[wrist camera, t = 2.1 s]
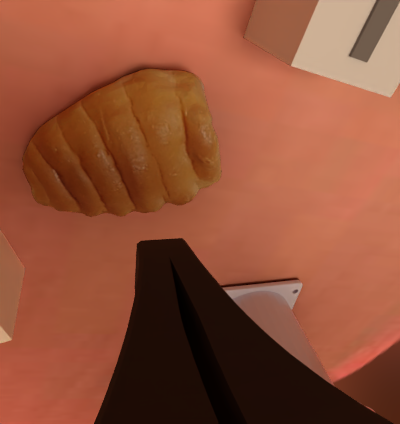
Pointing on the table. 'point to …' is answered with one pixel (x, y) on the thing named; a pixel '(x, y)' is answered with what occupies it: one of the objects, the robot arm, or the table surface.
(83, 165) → the pastry
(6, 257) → the marked block cream
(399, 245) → the table surface
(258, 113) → the table surface
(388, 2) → the marked block grey
